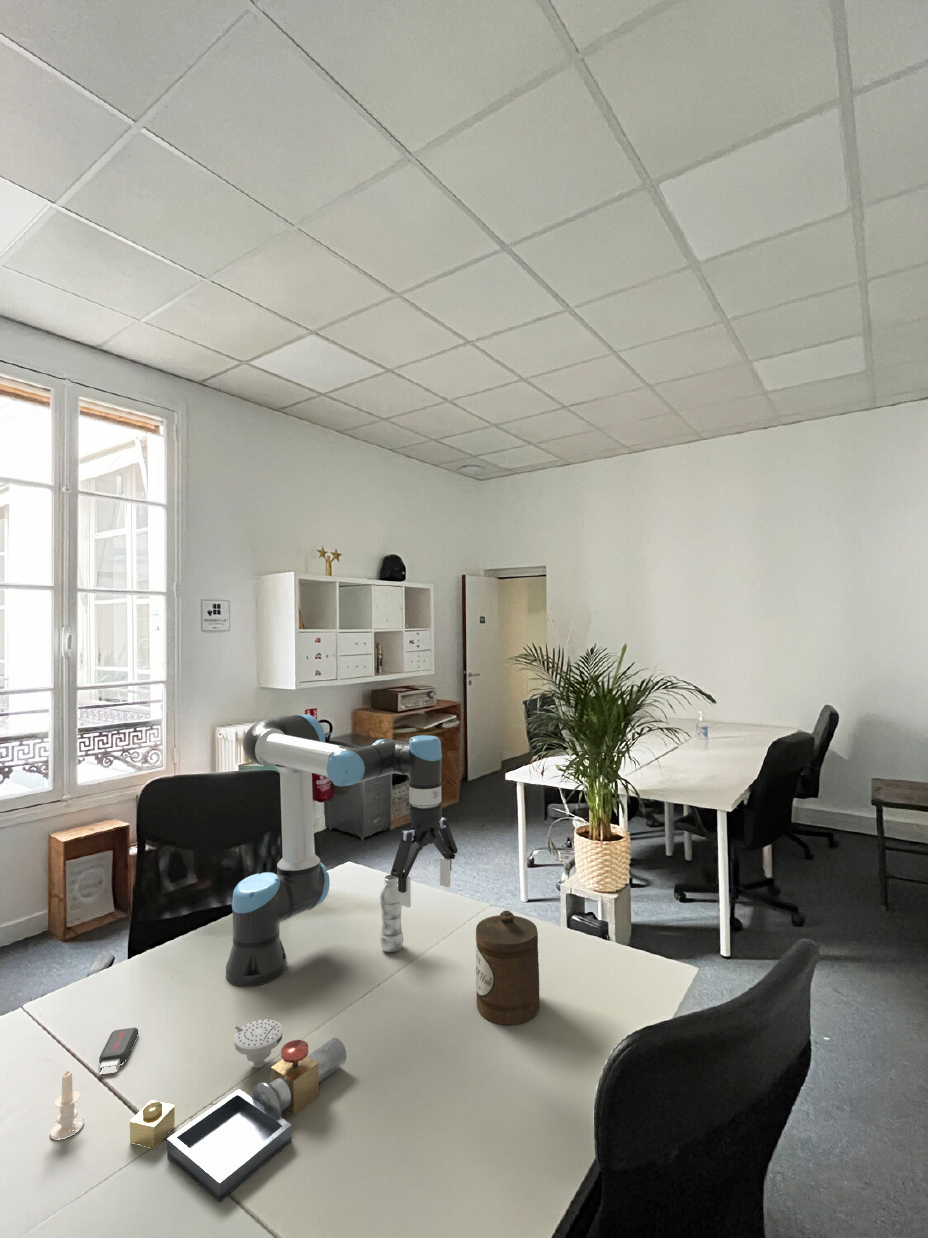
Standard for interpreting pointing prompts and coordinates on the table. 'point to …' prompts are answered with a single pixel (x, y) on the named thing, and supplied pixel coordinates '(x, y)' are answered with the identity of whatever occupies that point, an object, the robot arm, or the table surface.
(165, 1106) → the brass block
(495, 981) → the wooden container
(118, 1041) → the usb drive
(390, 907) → the plastic bottle
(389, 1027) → the table surface
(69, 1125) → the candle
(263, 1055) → the showerhead
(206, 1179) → the metal assembly
